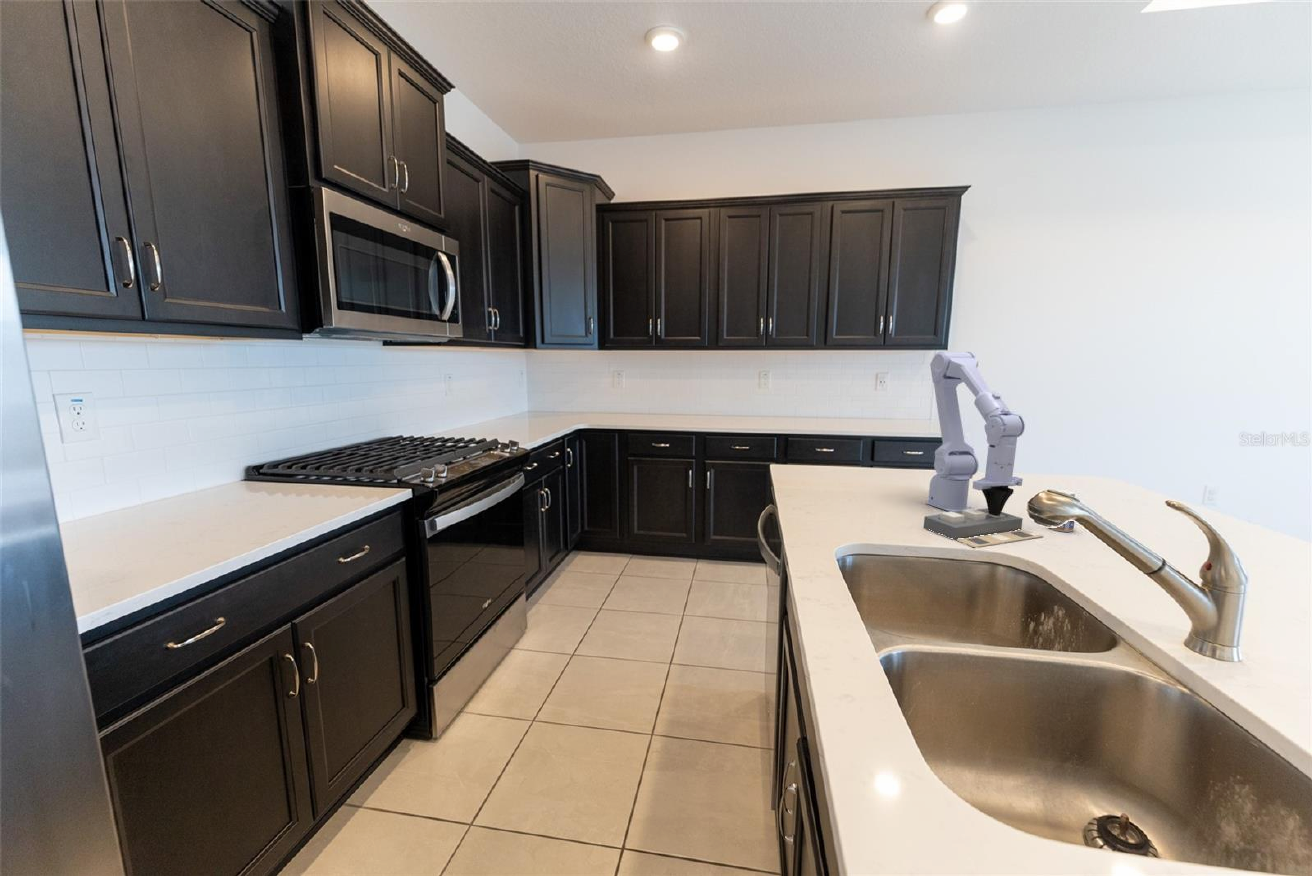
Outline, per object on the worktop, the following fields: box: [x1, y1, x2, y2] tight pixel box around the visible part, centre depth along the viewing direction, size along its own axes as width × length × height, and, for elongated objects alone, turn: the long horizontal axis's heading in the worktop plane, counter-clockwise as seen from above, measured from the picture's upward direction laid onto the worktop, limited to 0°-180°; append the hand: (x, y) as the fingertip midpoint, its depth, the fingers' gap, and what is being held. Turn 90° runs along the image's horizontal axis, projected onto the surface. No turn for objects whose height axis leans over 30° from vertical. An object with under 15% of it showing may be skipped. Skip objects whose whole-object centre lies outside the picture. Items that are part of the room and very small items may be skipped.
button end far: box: [986, 512, 1006, 518], centre depth 133 cm, size 4×4×3 cm
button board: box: [923, 507, 1024, 540], centre depth 131 cm, size 9×22×3 cm, turn 109°
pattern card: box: [956, 529, 1044, 548], centre depth 124 cm, size 5×22×1 cm, turn 109°
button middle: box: [962, 508, 986, 521], centre depth 131 cm, size 4×4×3 cm
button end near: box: [940, 511, 965, 524], centre depth 128 cm, size 4×4×3 cm
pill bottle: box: [1050, 489, 1076, 533], centre depth 131 cm, size 5×5×10 cm
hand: (994, 514), depth 133 cm, fingers closed, pressing on button end far
